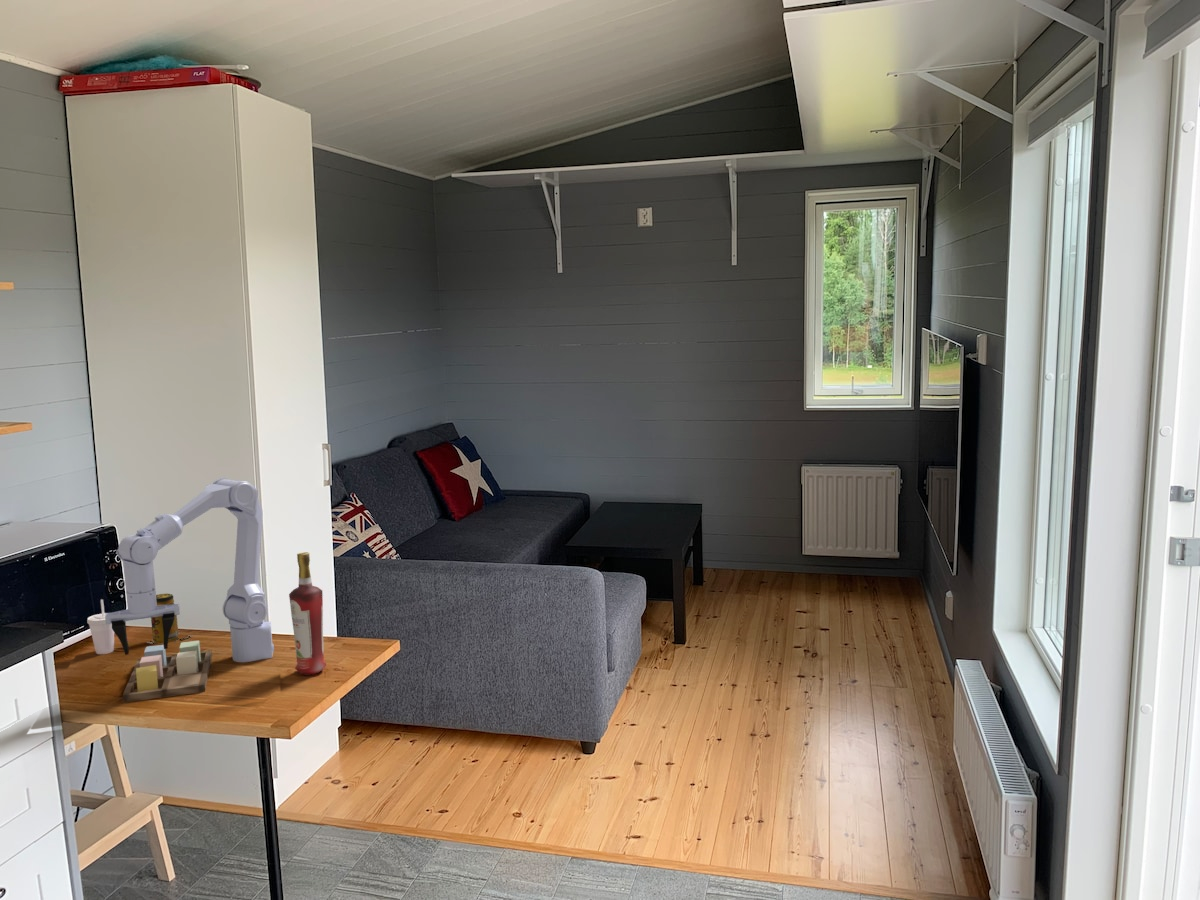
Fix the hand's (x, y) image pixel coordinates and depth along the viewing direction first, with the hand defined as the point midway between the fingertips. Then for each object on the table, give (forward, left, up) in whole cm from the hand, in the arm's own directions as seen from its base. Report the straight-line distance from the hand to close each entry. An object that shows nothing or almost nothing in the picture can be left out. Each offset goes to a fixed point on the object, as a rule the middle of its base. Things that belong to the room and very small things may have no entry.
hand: (146, 650), depth 208 cm
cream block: (-7, -6, -9) cm, 13 cm away
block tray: (-3, -6, -10) cm, 12 cm away
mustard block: (0, +1, -9) cm, 9 cm away
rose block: (0, -6, -9) cm, 11 cm away
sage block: (-7, -14, -9) cm, 18 cm away
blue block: (0, -14, -9) cm, 16 cm away
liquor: (-34, 0, -10) cm, 35 cm away
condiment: (0, -38, -10) cm, 40 cm away
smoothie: (+14, -32, -10) cm, 37 cm away
